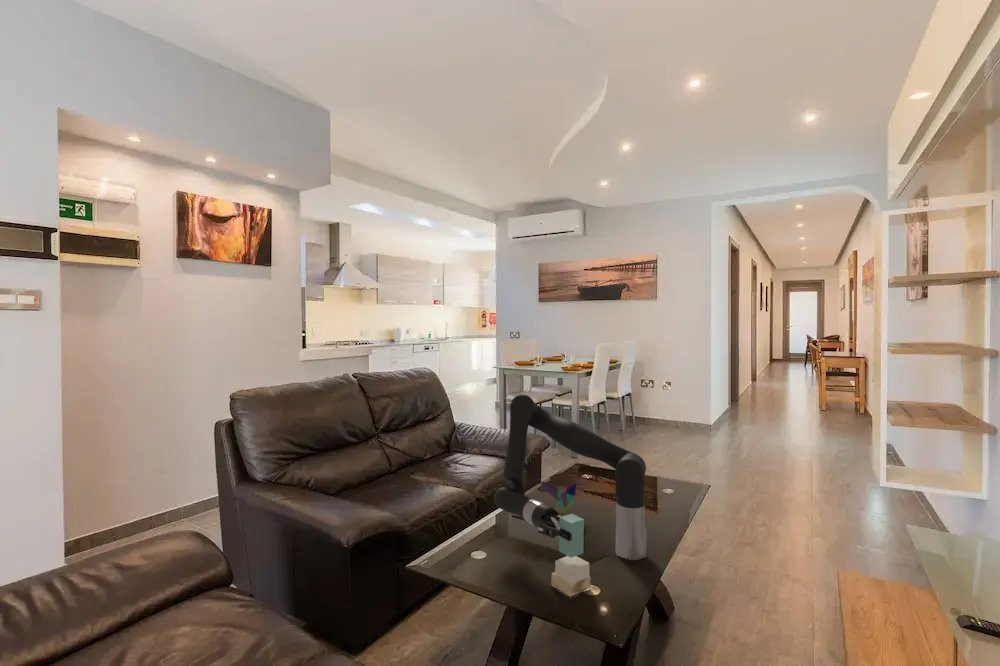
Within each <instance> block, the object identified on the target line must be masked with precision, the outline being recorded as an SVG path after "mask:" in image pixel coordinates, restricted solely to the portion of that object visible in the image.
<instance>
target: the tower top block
mask: <svg viewBox="0 0 1000 666" xmlns="http://www.w3.org/2000/svg"><path fill="white" fill-rule="evenodd" d="M554 562H555V563H554V567H555V568H554V572H555V574H556V575H557V576H559V577H561V578H563V579H564V580H566V581H568V582H569V583H571V584H575V583H577V582H579V581H581V580H583V579H585V578H587V577H590V562H588V561H586V560H585V559H583V558H581V557H578V555H577V556H575V557H572V558H570V557H568V556H567V555H565V556H564V557H561V558H559V559H557V560H555V561H554Z"/></svg>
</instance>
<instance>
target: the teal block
mask: <svg viewBox="0 0 1000 666" xmlns="http://www.w3.org/2000/svg"><path fill="white" fill-rule="evenodd" d="M561 516H562V515H561ZM559 527H561V529H564V530H566V531H568V532H570V533H571V534H572V540H571V541H568V540H566V539H564V538H562V537H558V552H560V553H561V554H564V555H565V556H568V557H570V558H572V557H575V556H577V557H578V556H580V555H583V554H584V542H585V541H584V539H585V536H584V528H585V519H584V518H582V517H580V516H578V515H576V514H574V513H569V514H566V515H563V516H562V517H560V524H559Z"/></svg>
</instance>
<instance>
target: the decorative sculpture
mask: <svg viewBox="0 0 1000 666" xmlns="http://www.w3.org/2000/svg"><path fill="white" fill-rule="evenodd" d="M584 478H585V476H584V477H582V478H580V479H579V480H577V481H576V482H574V483H571V484H568V486H567V487H566V490H565V492H564V490H561V489H560V488H559V487H557V486H555V485H553V484H552V483H549V482H546V481H543V480H542V481H541V482H540V485H541V486H542V487H543V489H544V490H546V492H547V493H548V494H550V496H552V498H554V499H555V500H556V501H558V502H557V503H556V505H555V507H553V508H554V509H556V511H557V512H558V514H559V515H560V516H564V514H565V513H566V514H567V513H568V512H570V510H571V509H572V508H573V507H574V504H575V502H576V490H577V489H576V488H577V484H578V483H579V482H580V481H581V480H583V479H584Z"/></svg>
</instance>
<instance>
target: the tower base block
mask: <svg viewBox="0 0 1000 666" xmlns="http://www.w3.org/2000/svg"><path fill="white" fill-rule="evenodd" d="M550 583H551V585H552V586H553V587H552V586H551V587H552V588H554V587H555V588H557V589H558V590H560V591H561V592H563V593H565V594H566V595H568V596H570V597H571V596H573V595H575V594H577V593H579V592H581V591H584V590H586V589H588V588H590V589H591V576H589V577H587V578H585V579H583V580H581V581H579V582H577V583H575V584H571V583H569V582H568V581H566V580H564V579H563V578H561V577H559V576H557V575H556V574H555V571H554V572H552V573H551V582H550ZM555 588H554V589H555ZM557 589H556V590H557ZM558 590H557V591H558ZM560 591H559V592H560ZM561 592H560V593H561ZM563 593H562V594H563ZM566 595H565V596H566Z"/></svg>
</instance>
